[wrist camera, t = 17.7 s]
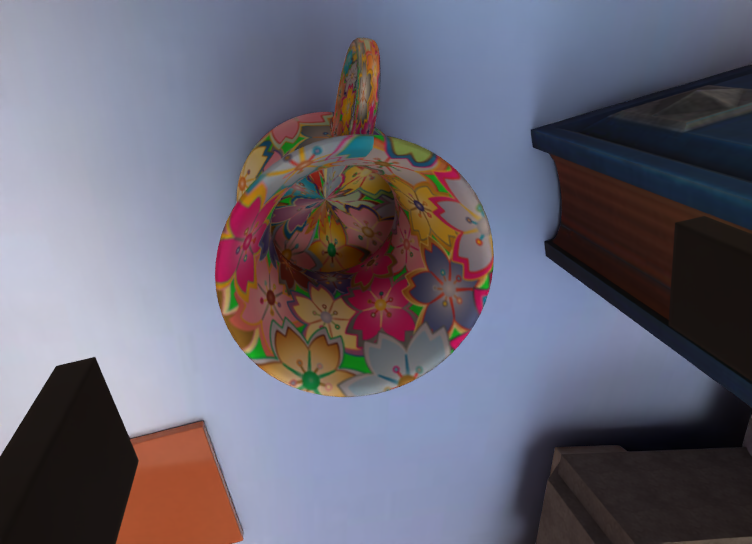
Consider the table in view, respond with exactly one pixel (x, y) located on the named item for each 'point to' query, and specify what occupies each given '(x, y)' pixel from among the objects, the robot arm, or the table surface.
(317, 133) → the mug
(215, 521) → the mug tile
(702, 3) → the table surface
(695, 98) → the book
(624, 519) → the machine
